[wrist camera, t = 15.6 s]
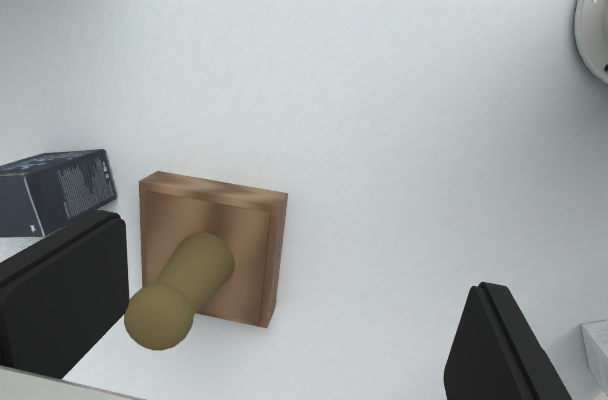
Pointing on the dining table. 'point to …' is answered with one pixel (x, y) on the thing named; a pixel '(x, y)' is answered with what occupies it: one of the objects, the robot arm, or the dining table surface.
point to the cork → (179, 291)
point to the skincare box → (597, 350)
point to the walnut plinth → (225, 225)
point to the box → (52, 191)
